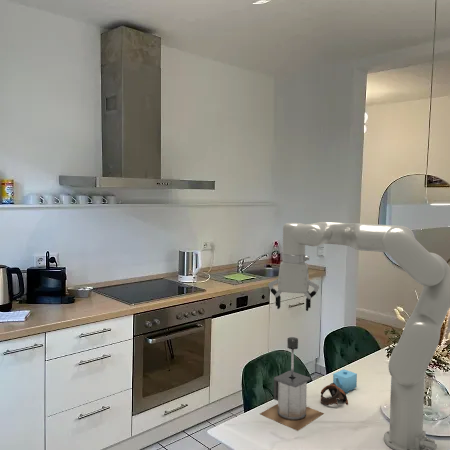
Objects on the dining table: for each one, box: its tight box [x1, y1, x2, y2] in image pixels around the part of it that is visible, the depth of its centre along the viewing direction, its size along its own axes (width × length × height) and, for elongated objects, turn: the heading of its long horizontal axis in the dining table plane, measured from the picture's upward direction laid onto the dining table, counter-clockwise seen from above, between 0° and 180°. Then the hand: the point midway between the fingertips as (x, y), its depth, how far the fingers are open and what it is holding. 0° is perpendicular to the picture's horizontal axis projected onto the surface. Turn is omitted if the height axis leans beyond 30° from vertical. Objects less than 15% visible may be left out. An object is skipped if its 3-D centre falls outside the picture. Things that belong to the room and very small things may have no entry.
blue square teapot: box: [332, 369, 358, 394], centre depth 177 cm, size 12×6×8 cm, turn 131°
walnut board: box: [259, 403, 325, 432], centre depth 155 cm, size 16×16×1 cm
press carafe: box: [273, 370, 311, 421], centre depth 156 cm, size 12×10×13 cm
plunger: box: [286, 336, 299, 379], centre depth 154 cm, size 7×7×16 cm
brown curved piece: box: [320, 382, 349, 406], centre depth 166 cm, size 12×10×8 cm
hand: (292, 308), depth 153 cm, fingers open, 9 cm apart
